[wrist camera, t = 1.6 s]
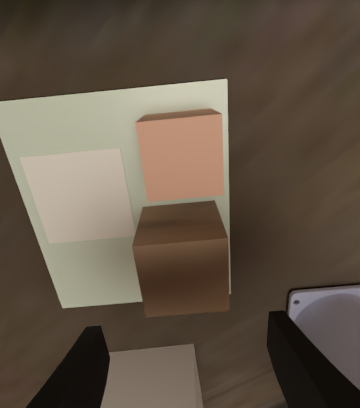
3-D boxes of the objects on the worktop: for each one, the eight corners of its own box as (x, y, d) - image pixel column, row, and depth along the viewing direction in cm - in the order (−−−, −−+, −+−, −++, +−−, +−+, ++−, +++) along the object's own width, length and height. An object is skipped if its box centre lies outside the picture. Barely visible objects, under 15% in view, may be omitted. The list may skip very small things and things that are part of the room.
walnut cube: (217, 260, 20) (229, 310, 15) (152, 265, 20) (145, 317, 15) (214, 200, 18) (228, 238, 13) (142, 206, 18) (131, 246, 13)
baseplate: (229, 289, 22) (231, 295, 21) (65, 302, 22) (62, 309, 22) (225, 79, 15) (227, 78, 15) (-6, 102, 16) (-14, 102, 15)
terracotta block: (213, 172, 17) (223, 194, 13) (153, 178, 17) (147, 201, 14) (210, 108, 16) (222, 113, 12) (144, 114, 16) (135, 122, 12)
